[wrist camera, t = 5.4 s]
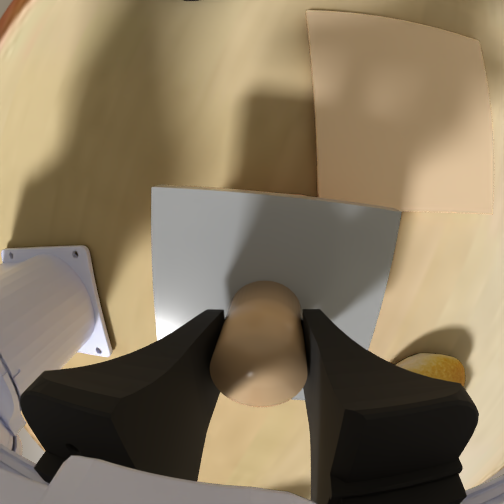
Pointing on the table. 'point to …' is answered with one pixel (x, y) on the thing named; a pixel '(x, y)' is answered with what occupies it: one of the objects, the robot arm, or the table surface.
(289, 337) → the lid
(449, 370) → the bread roll
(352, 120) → the mat
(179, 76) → the table surface
